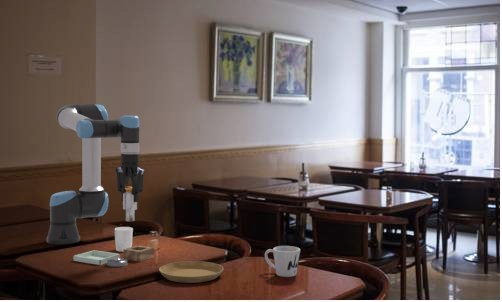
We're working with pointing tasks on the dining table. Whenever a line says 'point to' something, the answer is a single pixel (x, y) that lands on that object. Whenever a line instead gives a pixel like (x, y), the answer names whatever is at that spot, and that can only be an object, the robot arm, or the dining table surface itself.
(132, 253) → the socket block
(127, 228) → the white cup
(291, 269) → the mug
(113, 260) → the pulley wheel
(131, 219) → the glass jar
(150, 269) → the dining table surface
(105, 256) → the tray
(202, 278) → the plant saucer
